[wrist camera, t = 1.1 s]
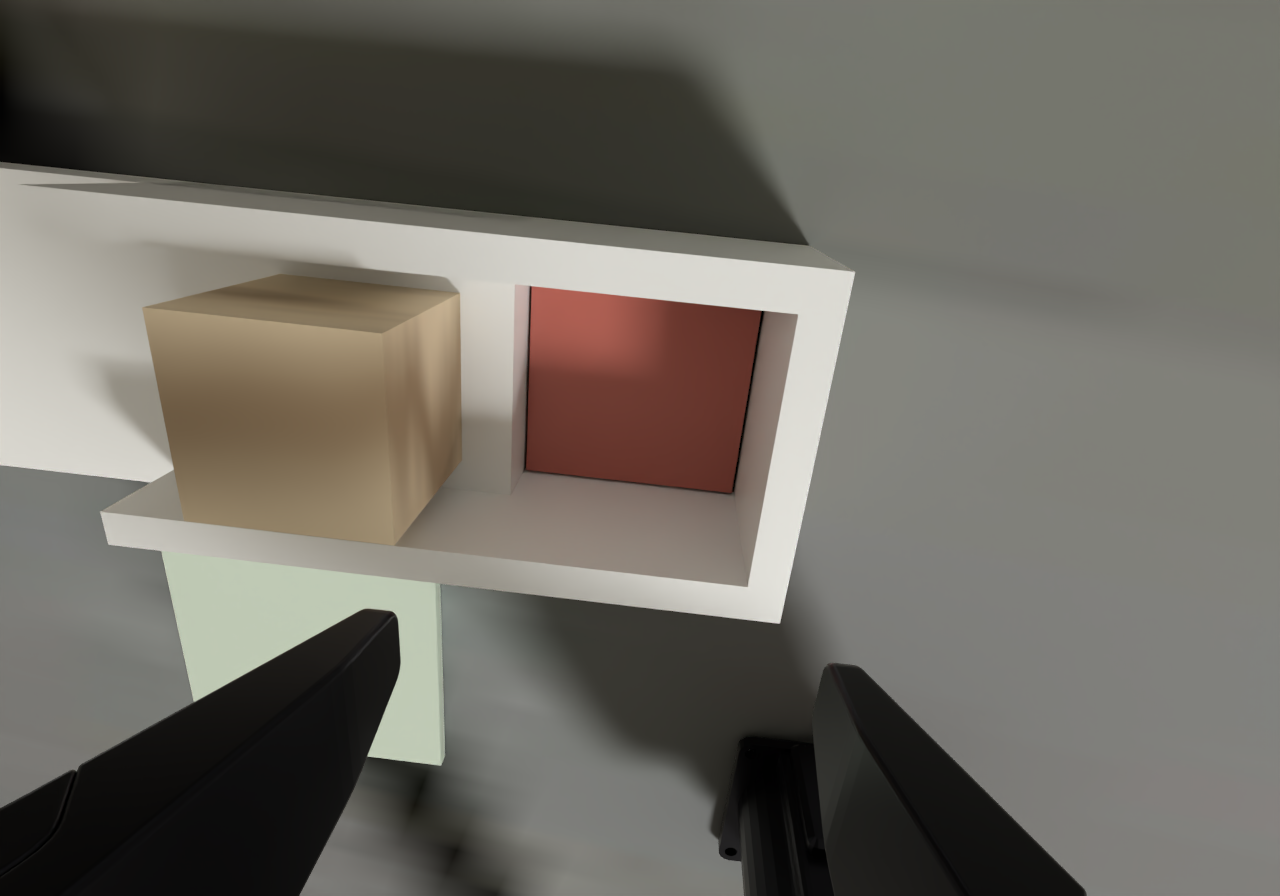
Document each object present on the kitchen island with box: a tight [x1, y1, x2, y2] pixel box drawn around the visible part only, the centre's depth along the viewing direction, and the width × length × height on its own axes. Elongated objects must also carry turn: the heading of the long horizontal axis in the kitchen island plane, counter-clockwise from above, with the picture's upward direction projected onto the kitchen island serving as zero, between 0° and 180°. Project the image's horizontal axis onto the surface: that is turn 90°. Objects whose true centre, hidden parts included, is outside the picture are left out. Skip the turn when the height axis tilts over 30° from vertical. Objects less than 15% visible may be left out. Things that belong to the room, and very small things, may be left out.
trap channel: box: [0, 162, 855, 624], centre depth 18 cm, size 9×27×6 cm, turn 85°
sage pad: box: [161, 551, 445, 765], centre depth 25 cm, size 10×10×1 cm
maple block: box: [142, 274, 462, 546], centre depth 17 cm, size 5×5×5 cm
